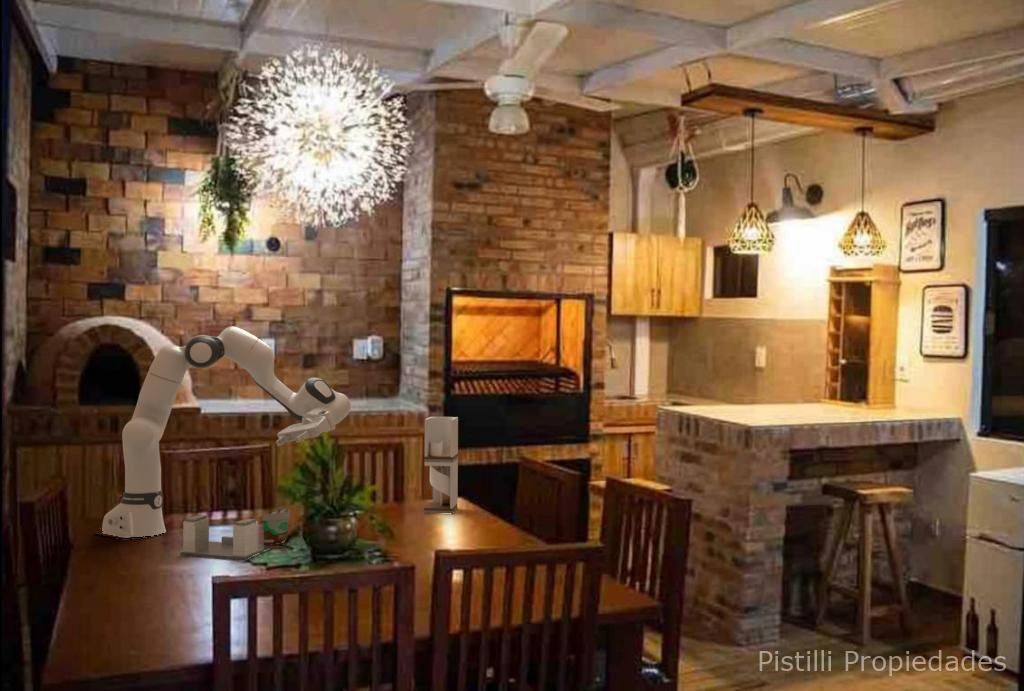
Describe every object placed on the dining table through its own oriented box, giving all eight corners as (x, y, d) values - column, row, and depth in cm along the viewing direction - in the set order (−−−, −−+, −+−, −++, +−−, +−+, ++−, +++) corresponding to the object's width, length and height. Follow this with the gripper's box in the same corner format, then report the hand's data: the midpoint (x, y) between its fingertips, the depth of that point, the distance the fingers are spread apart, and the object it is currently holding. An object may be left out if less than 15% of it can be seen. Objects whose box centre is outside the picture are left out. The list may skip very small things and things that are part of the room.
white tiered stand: (430, 507, 351) (430, 416, 350) (457, 508, 350) (457, 417, 349) (424, 513, 340) (424, 419, 339) (452, 514, 338) (453, 419, 338)
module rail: (180, 555, 273) (180, 519, 273) (209, 544, 287) (209, 510, 287) (245, 561, 267) (245, 524, 267) (272, 549, 281) (272, 514, 281)
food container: (280, 546, 285) (280, 514, 285) (261, 545, 286) (262, 514, 286) (297, 538, 297) (297, 507, 297) (279, 537, 298) (279, 506, 298)
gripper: (291, 418, 314) (263, 437, 304) (331, 410, 303) (304, 429, 292) (298, 435, 316) (270, 454, 305) (339, 427, 304) (312, 447, 293)
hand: (287, 442), depth 298 cm, fingers open, 8 cm apart
